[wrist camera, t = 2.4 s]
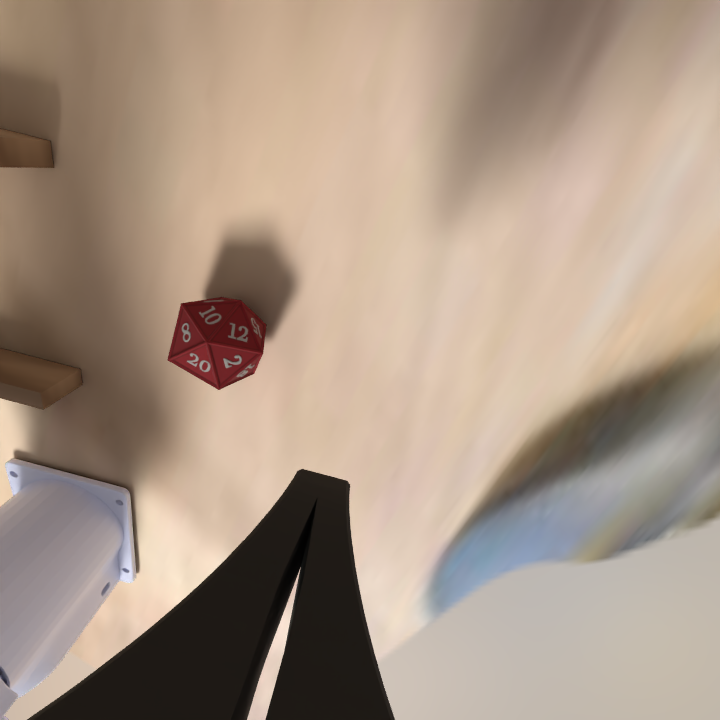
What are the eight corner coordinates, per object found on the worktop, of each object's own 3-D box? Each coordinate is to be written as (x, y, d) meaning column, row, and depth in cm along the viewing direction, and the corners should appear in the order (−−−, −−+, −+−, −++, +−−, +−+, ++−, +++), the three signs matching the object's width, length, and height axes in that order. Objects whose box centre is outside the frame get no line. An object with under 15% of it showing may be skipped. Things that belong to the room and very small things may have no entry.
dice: (188, 338, 19) (136, 377, 16) (221, 263, 17) (171, 287, 14) (254, 377, 20) (218, 423, 16) (294, 309, 18) (264, 344, 14)
